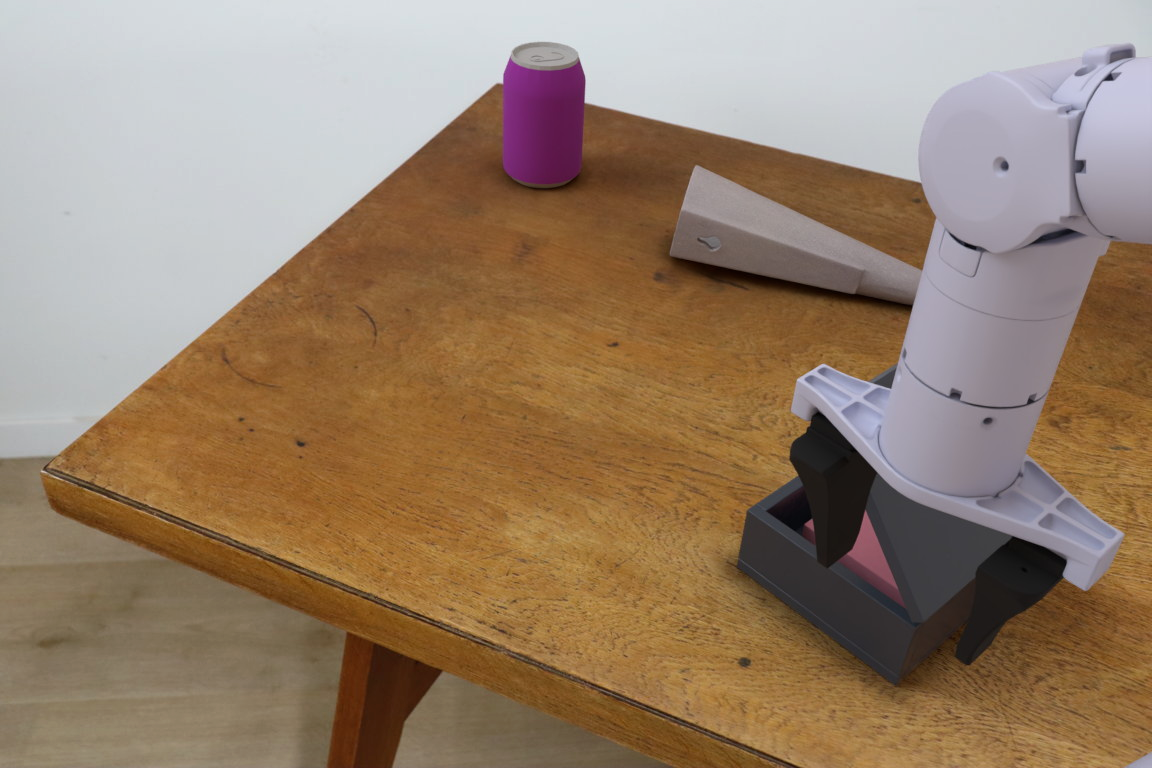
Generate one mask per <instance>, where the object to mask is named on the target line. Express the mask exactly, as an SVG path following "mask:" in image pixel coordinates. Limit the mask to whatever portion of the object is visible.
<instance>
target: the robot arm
mask: <svg viewBox="0 0 1152 768" xmlns="http://www.w3.org/2000/svg"><path fill="white" fill-rule="evenodd" d="M1136 53H1137V51H1136V47H1135V45H1134V43H1131V42H1122V43H1111V44H1103V45H1099V46H1093V47H1089V48H1086V49H1085V50H1084V52H1083V53H1082V55H1081V56H1078V57H1077V56H1076V57H1073V58H1067V59H1066V58H1065V59H1062V60H1057V61H1051V62H1047V63H1041V64H1036V65H1029V66H1025V67H1020V68H1014V69H1009V70H1004V71H1000V70H999V71H998V70H997V71H996V70H992V71H988V72H985V73H983V74H982V75H979V76H977V77H973V78H971V79H970V80H965V81H962V82H959V83H957V84H955V85H953V86H952V87H950V88H949V89H947V90H946V91H944V93H942V94H941V95H940V97H939V98H937V99H936V101H935V102H934V103H933V105H932V107H931V108H930V110H929V112H928V113H927V116H926V118H925V121H924V123H923V126H922V129H921V133H920V137H919V144H918V171H919V178H920V183H921V187H922V191H923V194H924V196H925V199H926V202H927V203H928V205H929V208H930V209H931V211H932V212H933V215H934V216H935V220H934V223H933V224H934V225H933V229H932V232H931V236H930V240H929V242H928V247H927V251H926V255H925V259H924V262H923V268H922V274H921V278H920V282H919V286H918V290H917V293H916V297H915V301H914V305H913V306H912V309H911V312H910V313H911V314H910V315H909V321H908V323H907V328H906V332H905V335H904V339H903V343H902V347H901V350H900V353H899V354H900V355H899V358H898V362H897V363H898V365H897V369H896V373H895V376H894V380H893V384H892V388H891V389H889V388H886V387H883V386H879V385H876V384H873V383H870V382H868V381H866V380H863V379H860V378H857V377H854V376H851V375H849V374H848V373H844V372H841V371H839V370H837V369H835V368H833V367H831V366H829V365H827V363H821V364H820V365H818V366H817V367H815V368H813V369H812V370H810V371H807V372H806V373H804V374H803V375H802V376H800V377H798V378H797V379H796V382H795V387H794V392H793V397H792V402H791V407H790V412H791V414H793V415H795V416H796V417H798V418H800V419H801V420H803V421H804V422H809V423H810V424H809V425H808V426H807V427H806V430H805V432H804V433H803V434H801V435H800V436H798V437H797V438H795V439H794V440H793V441H792V442H791V445H790V451H789V459H788V460H789V462H790V463H791V465H792V466H793V468H794V470H795V471H796V473H797V476H799V478H800V480H801V482H802V484H803V487H804V490H805V492H806V495H807V498H808V502H809V505H810V509H811V514H812V519H813V525H814V533H815V542H816V553H817V562H818V563H820V564H821V565H823V566H824V567H826V568H827V569H828V568H829V567H830V566H832V565H833V564H834V563H835V562H837V561H838V560H839V559H841V558H842V557H843V556H844V555H846V554H847V553H848V552H850V551H851V550H852V549H853V547H854V544H855V542H856V540H857V537H858V535H859V532H860V529H861V525H862V521H863V517H864V513H865V509H866V505H867V501H868V497H869V493H870V490H871V487H872V485H873V482H874V480H875V477H876V475H877V472H878V474H879V475H880V476H881V477H882V478H883V479H884V480H885V481H886V482H887V483H888V484H889V485H890V486H891V487H893V488H894V489H895V490H897V491H898V492H899V493H901V494H902V495H904V496H906V497H907V498H909V499H911V500H913V501H915V502H917V503H920V504H922V505H925V506H927V507H930V508H933V509H936V510H939V511H942V512H945V513H948V514H951V515H953V516H956V517H959V518H962V519H965V520H968V521H971V522H974V523H977V524H980V525H982V526H985V527H988V528H991V529H994V530H997V531H1000V532H1003V533H1006V534H1009V535H1011V536H1012V538H1011V539H1010V540H1009V541H1008V542H1006V543H1005V544H1004V545H1002V546H1001V547H999V548H998V549H997V550H996V551H995V552H994V553H993V554H992V555H990V556H989V557H988V558H987V559H986V560H985V561H984V562H982V563H981V564H980V565H979V566H978V568H977V570H976V573H975V576H976V586H975V595H974V600H973V605H972V609H971V613H970V616H969V619H968V621H967V622H966V623H965V626H964V627H963V629H962V633H961V634H960V637H959V639H958V642H957V644H956V646H955V650H954V658H955V659H956V660H958V661H959V662H960V663H962V664H963V665H964V666H971V665H972V664H973V663H974V662H975V661H976V660H977V659H978V658H979V657H980V656H981V655H983V653H984V652H985V651H986V650H988V649H989V648H990V647H991V645H992V644H993V642H994V640H995V639H996V638H997V635H998V634H999V633H1000V631H1001V630H1002V628H1003V627H1004V625H1005V624H1006V623H1007V622H1008V621H1009V620H1011V619H1012V618H1014V617H1016V616H1018V615H1019V614H1021V613H1023V612H1026V611H1027V610H1028V609H1030V608H1032V607H1033V606H1034V605H1036V604H1037V603H1039V602H1040V601H1041V600H1043V598H1045V597H1046V596H1047V595H1048V594H1049V593H1050V592H1051V591H1052V590H1053V589H1054V588H1055V587H1056V586H1057V585H1058V584H1060V582H1061V581H1062V580H1064V579H1065V581H1067V582H1069V583H1070V584H1072V585H1073V586H1075V587H1077V588H1079V589H1080V590H1082V591H1084V592H1087V591H1089V590H1090V589H1091V588H1092V587H1093V586H1094V585H1095V584H1096V583H1097V582H1098V581H1099V580H1100V579H1101V578H1102V577H1103V576H1104V574H1105V573H1107V572H1108V570H1109V569H1110V568H1111V565H1112V563H1113V562H1114V559H1115V558H1116V555H1117V553H1118V551H1119V549H1120V546H1121V545H1122V543H1123V540H1124V538H1125V536H1126V534H1125V533H1124V532H1123V531H1121V530H1120V529H1118V528H1116V527H1115V526H1113V525H1112V524H1110V523H1108V522H1107V521H1105V520H1103V519H1102V518H1101V517H1100V516H1098V515H1096V514H1095V513H1094V512H1093V511H1091V510H1090V509H1089V508H1088V507H1087V506H1085V505H1084V504H1083V503H1082V502H1081V501H1080V500H1078V499H1077V497H1075V496H1074V495H1073V494H1072V493H1071V492H1070V491H1068V489H1067V488H1065V487H1064V485H1062V484H1061V483H1060V482H1059V481H1058V480H1056V479H1055V478H1054V477H1053V476H1052V475H1051V474H1050V473H1048V471H1047V470H1045V468H1043V467H1042V466H1041V464H1039V463H1038V462H1036V460H1034V459H1033V458H1032V457H1031V456H1030V455H1029V454H1028V453H1027V452H1028V448H1029V447H1030V443H1031V440H1032V438H1033V435H1034V433H1035V430H1036V428H1037V424H1038V422H1039V419H1040V417H1041V414H1042V412H1043V408H1044V406H1045V403H1046V401H1047V397H1048V395H1049V392H1050V389H1051V386H1052V383H1053V381H1054V378H1055V376H1056V374H1057V370H1058V367H1059V364H1060V363H1061V359H1062V356H1063V354H1064V351H1065V349H1066V346H1067V343H1068V340H1069V338H1070V336H1071V332H1072V330H1073V327H1074V325H1075V321H1076V319H1077V316H1078V313H1079V311H1080V309H1081V305H1082V303H1083V300H1084V298H1085V295H1086V292H1087V290H1088V287H1089V284H1090V282H1091V279H1092V276H1093V274H1094V271H1095V267H1096V265H1097V263H1098V260H1099V257H1103V256H1106V255H1107V252H1108V250H1109V248H1110V244H1111V242H1119V243H1120V242H1122V243H1132V244H1143V245H1152V56H1140V57H1139V56H1137V57H1136V55H1137V54H1136ZM1123 768H1152V751H1150V752H1149V753H1147V754H1145V755H1143V756H1142V757H1140V758H1138V759H1136V760H1134V761H1132V762H1130V763H1129V764H1127V765H1125V766H1124V767H1123Z"/></svg>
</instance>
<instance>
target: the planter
mask: <svg viewBox="0 0 1152 768" xmlns="http://www.w3.org/2000/svg"><path fill="white" fill-rule="evenodd" d="M670 246H671V247H670V251H669V256H670V257H673V258H676V259H681V260H682V259H683V260H686V261H691V262H696V263H701V264H705V265H712V266H716V267H721V268H725V269H730V270H734V271H740V272H744V273H749V274H753V275H759V276H764V277H769V278H773V279H777V280H778V279H779V280H783V281H787V282H792V283H798V284H800V285H801V284H802V285H805V286H806V285H807V286H810V287H811V286H812V287H816V288H820V289H826V290H831V291H835V292H840V293H845V294H850V295H860V296H864V297H870V298H875V299H879V300H884V301H888V302H894V303H897V304H904V305H908V306H911V307H913V305H914V301H915V297H916V293H917V290H918V286H919V282H920V278H921V274H922V271H923V269H922V270H921V269H919V268H918V267H915V266H913V265H911V264H909V263H907V262H904V261H902V260H900V259H898V258H897V257H894V256H892V255H890V254H887V253H885V252H883V251H881V250H879V249H877V248H875V247H872V246H870V245H868V244H866V243H864V242H862V241H859V240H858V239H855V238H853V237H851V236H849V235H846V234H845V233H843V232H841V231H838V230H836V229H834V228H832V227H829V226H827V225H825V224H823V223H821V222H819V221H817V220H815V219H813V218H811V217H809V216H806V215H805V214H802V213H801V212H797V211H796V210H794V209H791V208H789V207H787V206H785V205H783V204H780V203H779V202H776V201H775V200H772V199H770V198H768V197H766V196H763V195H761V194H759V193H758V192H755V191H752V190H750V189H749V188H747V187H744V186H742V185H741V184H739V183H737V182H735V181H732V180H730V179H728V178H726V177H724V176H721V175H720V174H717V173H715V172H712V171H711V170H708V169H706V168H704V167H703V166H700V165H699V164H698V165H697V164H696V165H695V166H694V168H693V170H692V173H691V175H690V179H689V182H688V185H687V189H686V191H685V195H684V198H683V202H682V205H681V209H680V211H679V215H678V219H677V223H676V226H675V230H674V233H673V238H672V242H671V245H670Z"/></svg>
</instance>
